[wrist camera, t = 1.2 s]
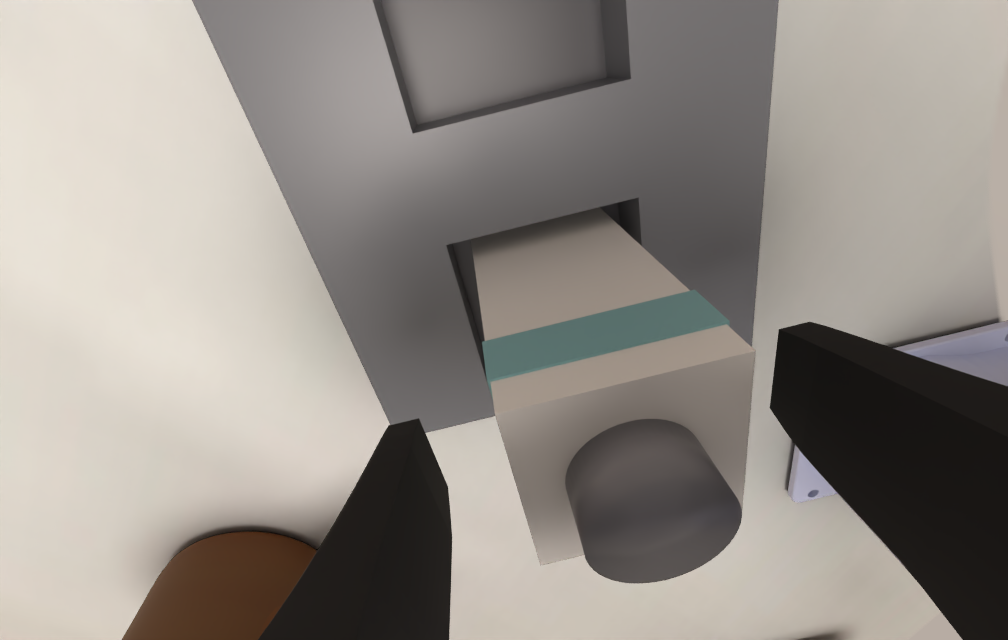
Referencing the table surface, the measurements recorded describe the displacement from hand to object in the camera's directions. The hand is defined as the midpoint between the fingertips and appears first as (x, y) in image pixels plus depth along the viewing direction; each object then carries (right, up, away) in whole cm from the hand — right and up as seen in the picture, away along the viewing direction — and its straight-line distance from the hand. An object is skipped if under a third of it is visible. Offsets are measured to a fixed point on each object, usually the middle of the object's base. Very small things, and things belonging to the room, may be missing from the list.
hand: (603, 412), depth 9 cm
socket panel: (-2, +7, +4) cm, 8 cm away
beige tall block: (-1, +3, +6) cm, 7 cm away
